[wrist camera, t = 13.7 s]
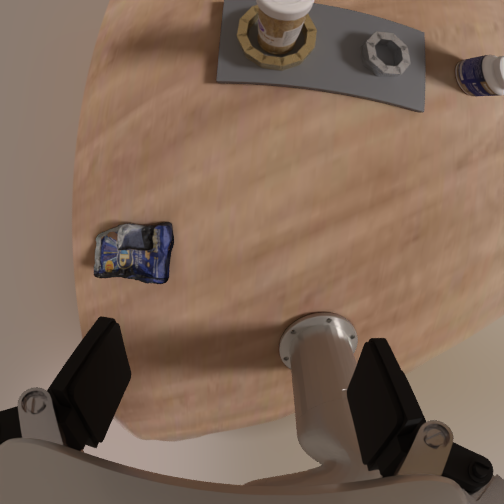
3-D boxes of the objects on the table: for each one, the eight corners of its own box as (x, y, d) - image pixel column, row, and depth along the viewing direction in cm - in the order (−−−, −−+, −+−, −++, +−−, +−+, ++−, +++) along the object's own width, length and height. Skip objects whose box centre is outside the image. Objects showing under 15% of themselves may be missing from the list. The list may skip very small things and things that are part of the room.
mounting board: (419, 35, 26) (424, 32, 25) (418, 112, 31) (424, 112, 29) (225, 1, 26) (224, -3, 25) (218, 83, 31) (216, 81, 30)
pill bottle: (455, 92, 29) (499, 88, 20) (451, 56, 27) (493, 45, 18) (482, 100, 29) (525, 100, 19) (478, 66, 26) (520, 59, 17)
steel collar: (408, 59, 27) (417, 56, 25) (386, 85, 29) (394, 82, 26) (375, 30, 26) (383, 24, 23) (352, 55, 28) (358, 50, 25)
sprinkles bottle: (249, 35, 27) (243, -16, 15) (281, 17, 26) (291, -38, 14) (273, 62, 29) (280, 21, 16) (304, 44, 27) (328, -2, 15)
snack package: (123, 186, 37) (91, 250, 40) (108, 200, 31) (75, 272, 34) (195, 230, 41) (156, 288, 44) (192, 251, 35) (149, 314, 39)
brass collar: (326, 36, 27) (331, 30, 25) (283, 83, 30) (285, 79, 27) (269, -2, 25) (269, -10, 23) (224, 44, 28) (222, 38, 25)
